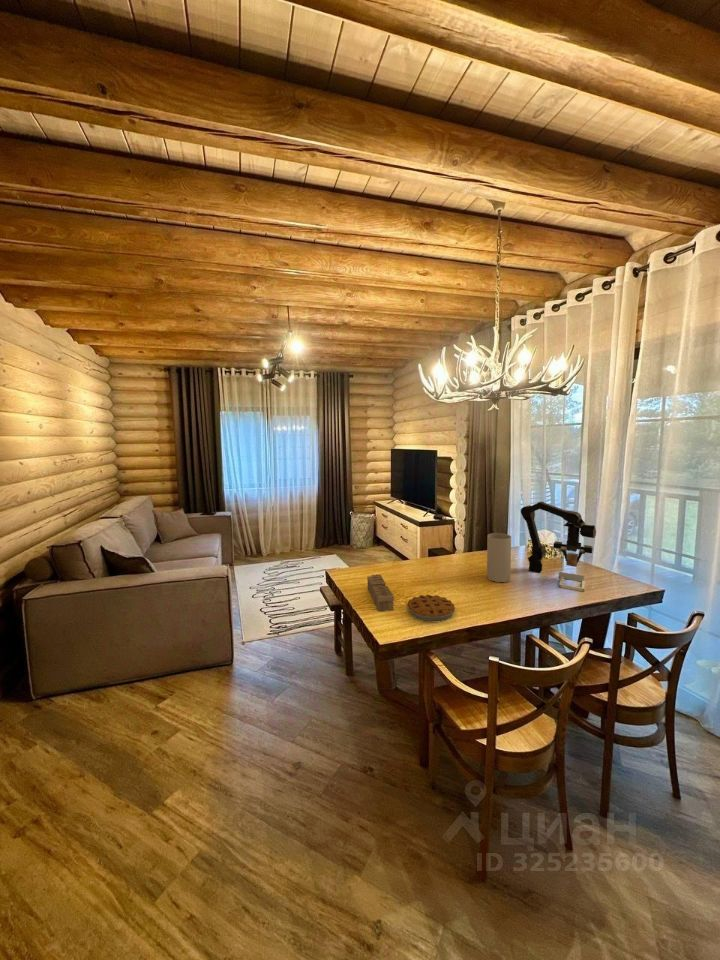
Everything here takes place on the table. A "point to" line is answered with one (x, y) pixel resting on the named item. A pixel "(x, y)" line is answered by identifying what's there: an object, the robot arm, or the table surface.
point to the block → (572, 559)
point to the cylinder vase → (498, 557)
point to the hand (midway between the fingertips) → (571, 562)
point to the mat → (572, 577)
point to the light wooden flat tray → (571, 586)
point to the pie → (431, 608)
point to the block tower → (380, 593)
